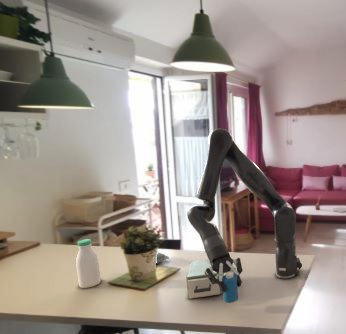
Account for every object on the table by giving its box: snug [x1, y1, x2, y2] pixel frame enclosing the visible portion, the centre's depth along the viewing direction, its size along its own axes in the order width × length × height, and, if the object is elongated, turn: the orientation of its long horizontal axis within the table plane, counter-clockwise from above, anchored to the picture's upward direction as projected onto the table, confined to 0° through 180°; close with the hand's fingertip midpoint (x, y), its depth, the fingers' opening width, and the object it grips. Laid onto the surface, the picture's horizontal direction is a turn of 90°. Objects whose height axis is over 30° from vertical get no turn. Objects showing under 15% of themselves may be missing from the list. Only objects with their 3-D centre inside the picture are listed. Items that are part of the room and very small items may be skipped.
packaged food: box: [156, 251, 170, 265], centre depth 167 cm, size 9×12×5 cm
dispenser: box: [185, 259, 225, 300], centre depth 142 cm, size 15×13×9 cm
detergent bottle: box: [222, 271, 239, 304], centre depth 125 cm, size 5×5×10 cm
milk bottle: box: [75, 238, 102, 289], centre depth 145 cm, size 8×8×20 cm
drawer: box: [186, 275, 221, 300], centre depth 138 cm, size 18×12×7 cm, turn 16°
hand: (232, 288), depth 124 cm, fingers closed on detergent bottle, 5 cm apart
